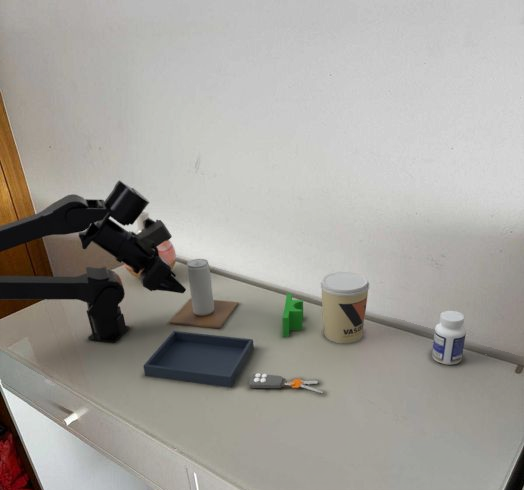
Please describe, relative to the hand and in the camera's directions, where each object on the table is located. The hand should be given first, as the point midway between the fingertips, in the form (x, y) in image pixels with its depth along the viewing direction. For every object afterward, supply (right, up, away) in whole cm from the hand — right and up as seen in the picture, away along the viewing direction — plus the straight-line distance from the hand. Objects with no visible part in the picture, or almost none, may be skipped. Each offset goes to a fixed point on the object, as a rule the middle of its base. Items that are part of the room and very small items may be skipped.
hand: (179, 283), depth 108 cm
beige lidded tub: (+35, -11, -5) cm, 37 cm away
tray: (+6, -16, -12) cm, 21 cm away
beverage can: (+5, -6, +6) cm, 9 cm away
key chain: (+22, -20, -20) cm, 36 cm away
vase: (-11, +4, +26) cm, 29 cm away
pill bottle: (+52, -15, -15) cm, 57 cm away
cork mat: (+5, -6, +6) cm, 10 cm away
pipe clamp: (+25, -9, -1) cm, 26 cm away
